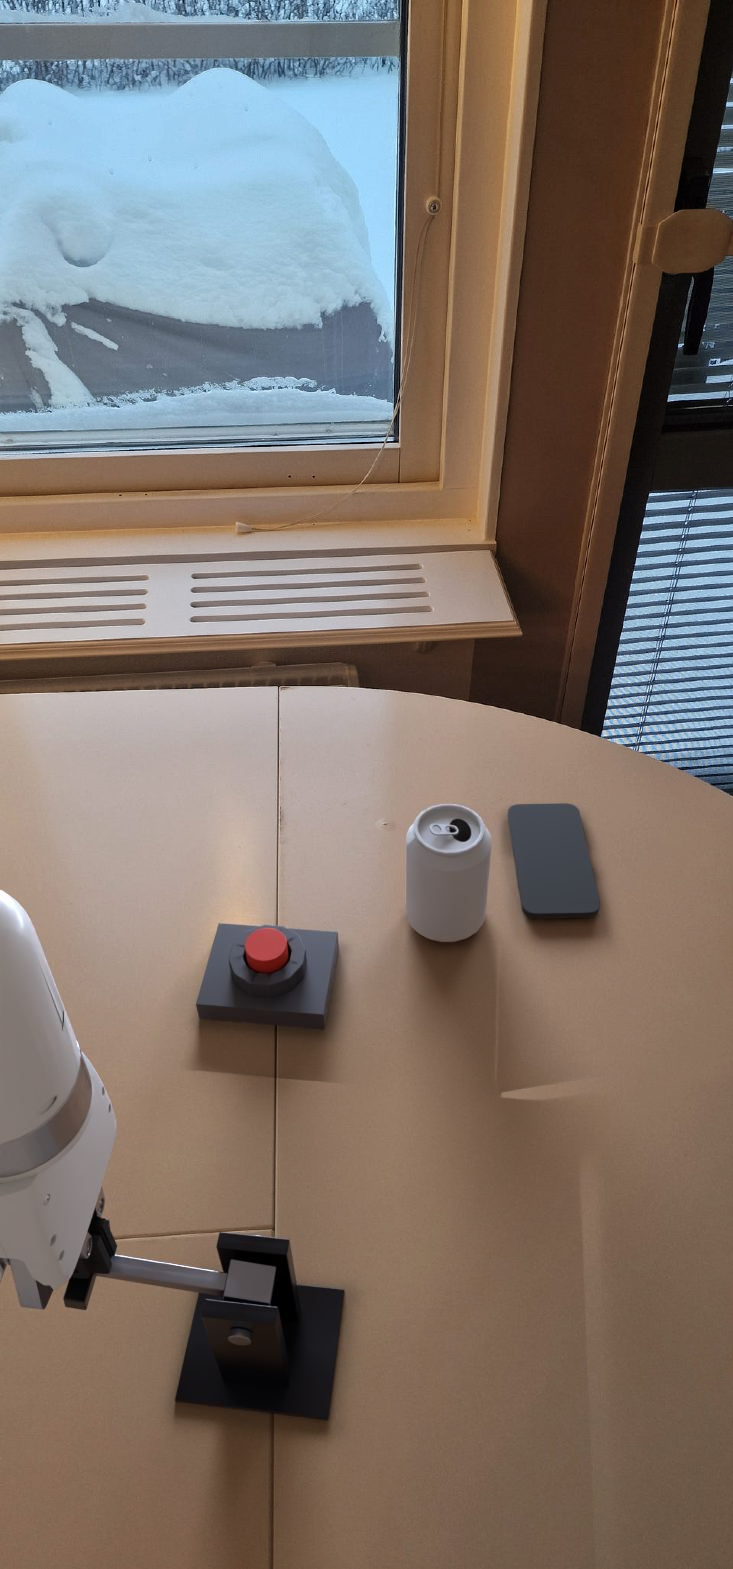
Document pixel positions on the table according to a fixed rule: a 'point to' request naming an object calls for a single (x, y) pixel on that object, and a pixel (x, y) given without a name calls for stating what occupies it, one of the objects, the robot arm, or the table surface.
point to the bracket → (264, 1340)
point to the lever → (182, 1280)
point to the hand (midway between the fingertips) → (88, 1258)
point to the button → (266, 950)
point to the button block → (269, 979)
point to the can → (447, 872)
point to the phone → (552, 861)
